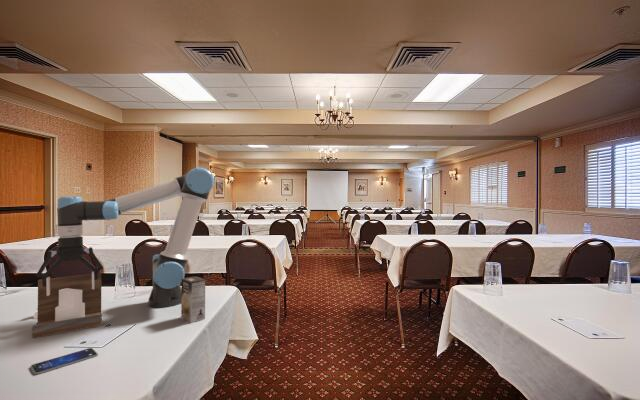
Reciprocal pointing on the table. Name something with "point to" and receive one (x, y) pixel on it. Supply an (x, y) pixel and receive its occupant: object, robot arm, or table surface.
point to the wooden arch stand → (50, 302)
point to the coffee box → (193, 299)
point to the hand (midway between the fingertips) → (71, 291)
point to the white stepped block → (69, 305)
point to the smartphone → (63, 361)
